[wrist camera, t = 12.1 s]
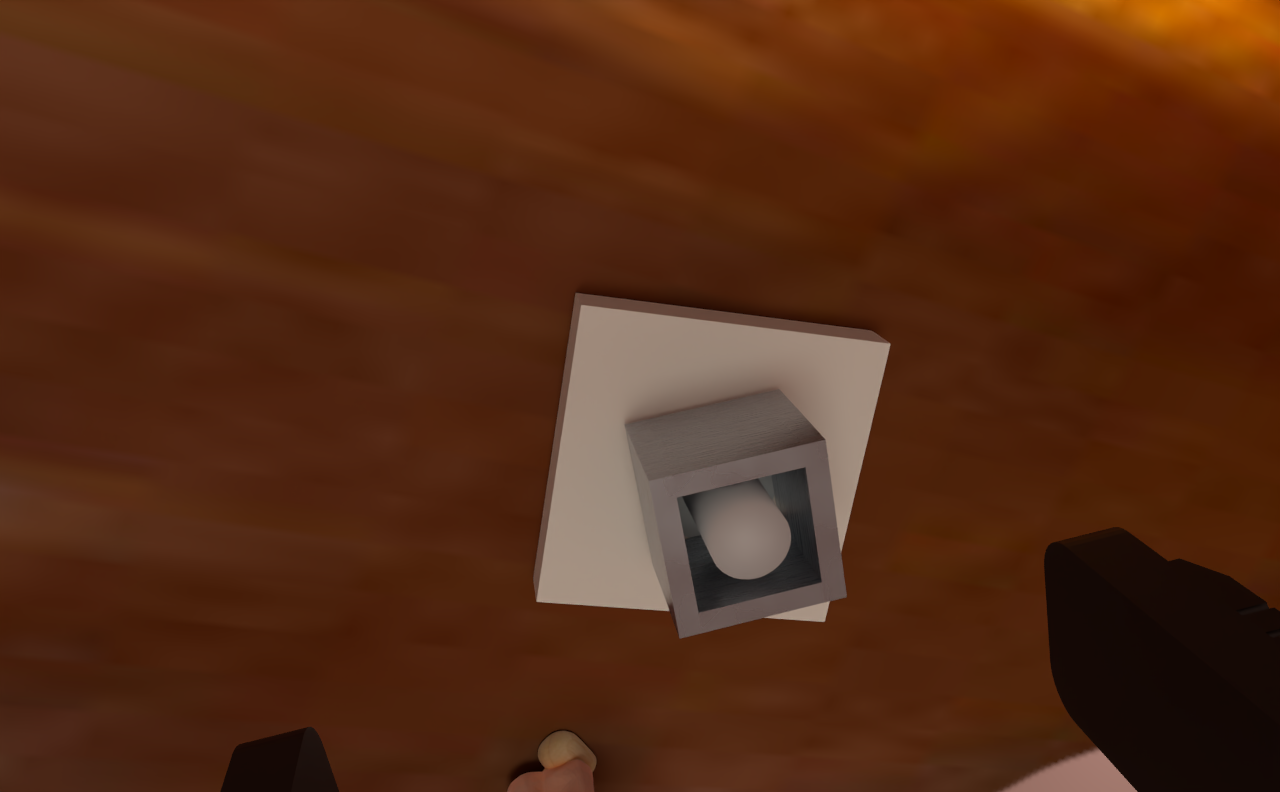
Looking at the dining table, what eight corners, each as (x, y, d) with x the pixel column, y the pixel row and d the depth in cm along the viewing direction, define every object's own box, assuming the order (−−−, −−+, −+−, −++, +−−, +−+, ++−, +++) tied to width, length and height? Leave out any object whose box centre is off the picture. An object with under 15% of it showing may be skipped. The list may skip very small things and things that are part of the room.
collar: (624, 424, 40) (648, 481, 35) (779, 388, 41) (825, 439, 36) (652, 565, 42) (679, 638, 37) (800, 529, 43) (846, 597, 38)
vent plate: (533, 577, 44) (548, 688, 37) (575, 292, 41) (601, 349, 33) (809, 598, 47) (877, 705, 39) (872, 330, 43) (958, 391, 36)
